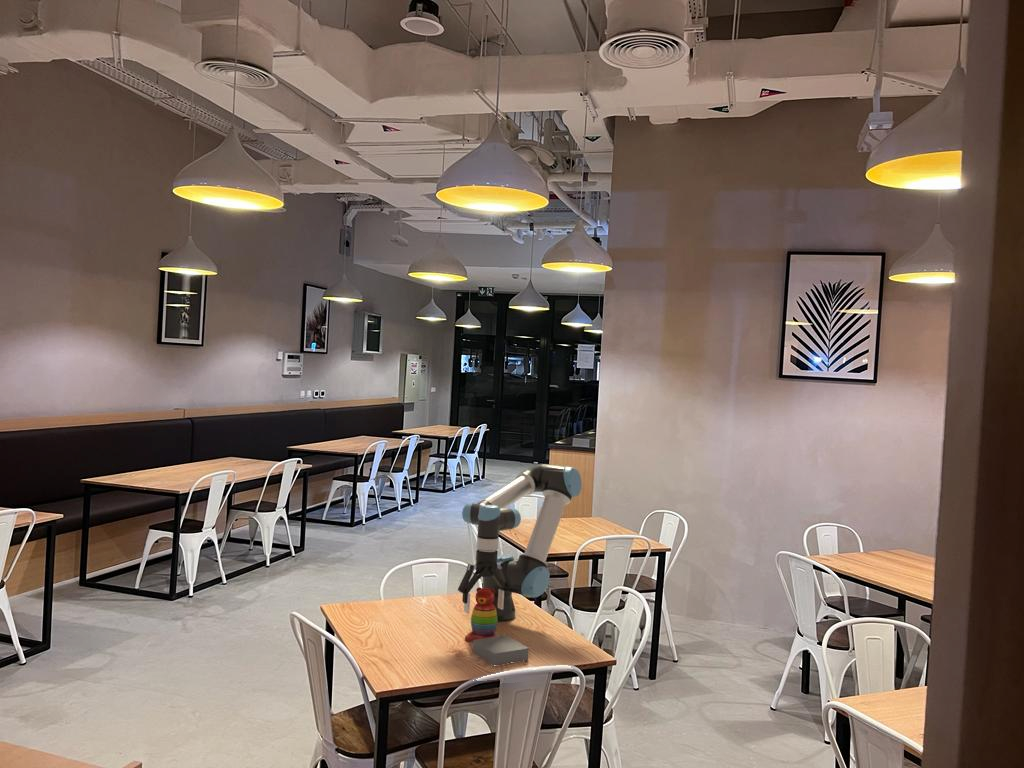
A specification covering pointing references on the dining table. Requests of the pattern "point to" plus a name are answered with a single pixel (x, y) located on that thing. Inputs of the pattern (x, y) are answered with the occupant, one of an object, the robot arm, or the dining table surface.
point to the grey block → (500, 650)
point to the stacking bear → (483, 616)
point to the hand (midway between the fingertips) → (483, 610)
